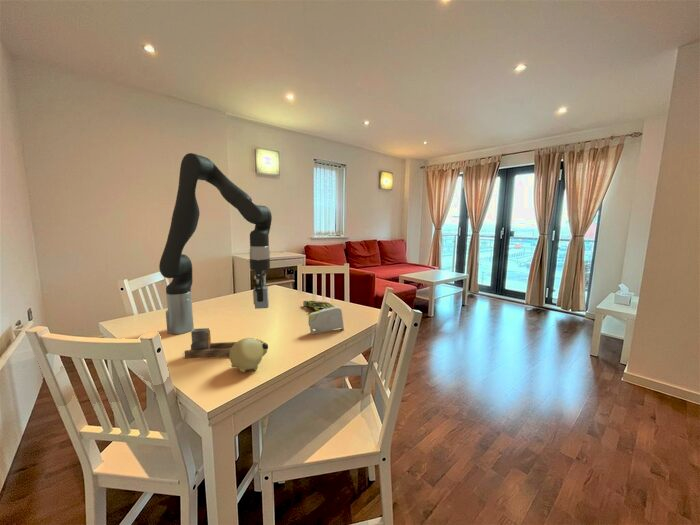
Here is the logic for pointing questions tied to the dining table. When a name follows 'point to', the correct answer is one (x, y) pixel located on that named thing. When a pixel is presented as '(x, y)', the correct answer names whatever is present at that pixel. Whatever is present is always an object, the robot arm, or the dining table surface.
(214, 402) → the dining table surface
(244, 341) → the toy pig
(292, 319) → the dining table surface
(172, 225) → the robot arm
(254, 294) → the grey rectangular block
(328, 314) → the grey rectangular slab
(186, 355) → the rail
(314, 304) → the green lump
